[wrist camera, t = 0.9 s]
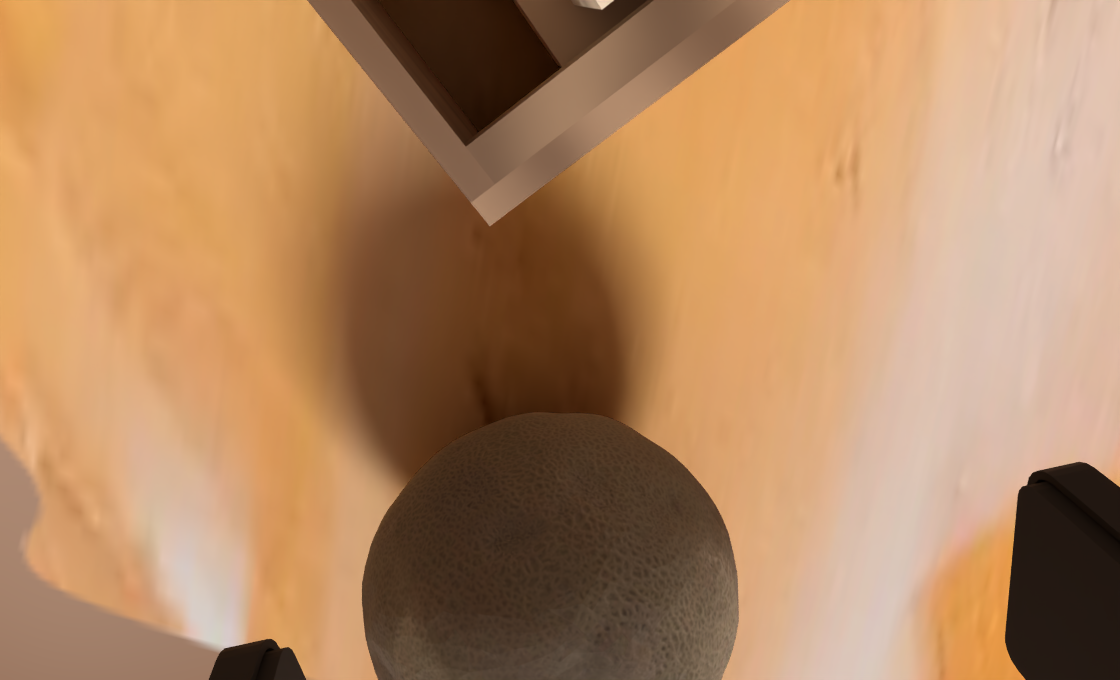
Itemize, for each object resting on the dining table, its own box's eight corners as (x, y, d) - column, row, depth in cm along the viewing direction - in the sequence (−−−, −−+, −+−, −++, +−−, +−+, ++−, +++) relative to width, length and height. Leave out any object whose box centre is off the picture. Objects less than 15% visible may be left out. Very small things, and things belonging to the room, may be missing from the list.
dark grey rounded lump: (638, 594, 42) (721, 888, 28) (370, 574, 39) (318, 887, 25) (706, 360, 36) (851, 585, 22) (400, 320, 34) (354, 546, 20)
